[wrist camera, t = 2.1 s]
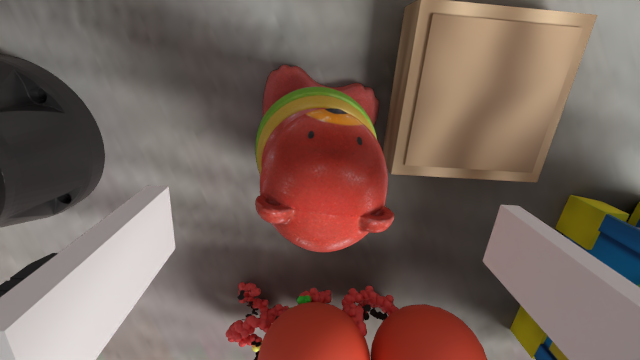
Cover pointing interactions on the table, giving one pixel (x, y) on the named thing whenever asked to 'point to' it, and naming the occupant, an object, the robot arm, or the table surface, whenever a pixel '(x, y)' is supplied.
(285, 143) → the stacking bear
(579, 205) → the decorative book
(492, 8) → the oak stand
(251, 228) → the table surface
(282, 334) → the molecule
